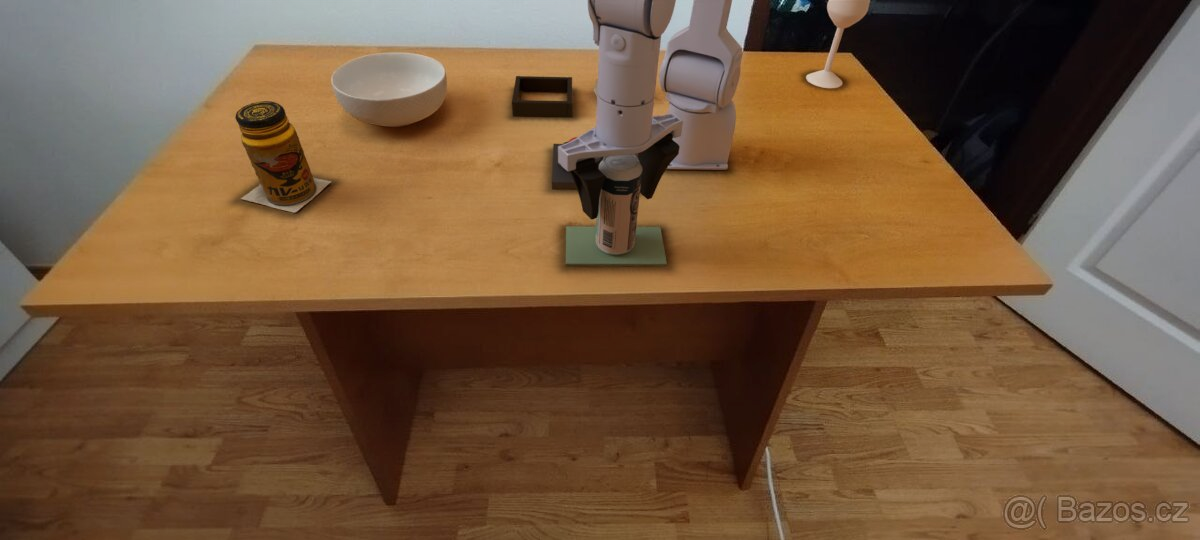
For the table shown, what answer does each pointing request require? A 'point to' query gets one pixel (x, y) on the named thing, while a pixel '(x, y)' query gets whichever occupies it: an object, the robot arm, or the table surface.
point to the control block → (563, 172)
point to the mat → (588, 254)
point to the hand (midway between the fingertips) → (617, 204)
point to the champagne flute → (838, 37)
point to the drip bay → (542, 107)
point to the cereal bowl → (390, 88)
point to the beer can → (618, 203)
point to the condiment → (276, 158)
